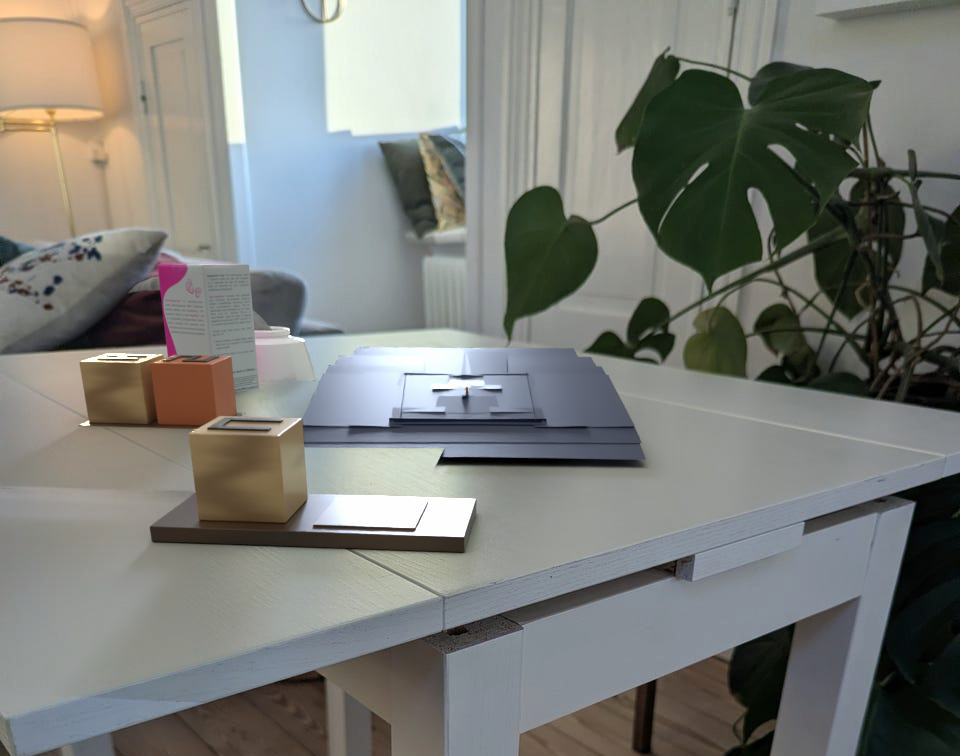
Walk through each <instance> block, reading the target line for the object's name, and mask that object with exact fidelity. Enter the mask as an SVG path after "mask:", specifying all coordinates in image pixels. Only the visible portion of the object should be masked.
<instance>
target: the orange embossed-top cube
mask: <svg viewBox="0 0 960 756" xmlns="http://www.w3.org/2000/svg"><path fill="white" fill-rule="evenodd" d="M150 364H151V372H152V380H153V388H154V395H155V403H156V411H157V418H158V424H159V425H196V426H203V425H205V424H207V423H208V422H210V421H212V420H214V419H215V418H217V417H219V416H235V415H237V413H238V411H237V400H236V392H235V389H234V378H233V368H232V357H231V356H203V355H173V356H170V357H168V356H166V357H164V359H161V360H158V361H155V362H152V363H150Z"/></svg>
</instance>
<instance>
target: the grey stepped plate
mask: <svg viewBox="0 0 960 756" xmlns="http://www.w3.org/2000/svg"><path fill="white" fill-rule="evenodd" d="M302 422H303V436H304V448H316V449H317V448H326V449H327V448H331V449H332V448H333V449H334V448H335V449H336V448H337V449H339V448H341V449H342V448H344V449H347V448H348V449H352V448H353V449H354V448H355V449H360V448H361V449H443V450H442V452H441V454H440V456H439V458H516V459H517V458H519V459H521V458H522V459H523V458H525V459H526V458H527V459H574V460H575V459H576V460H578V459H579V460H582V459H583V460H633V461H635V460H637V461H645V460H647V458H646V455H645V453H644V451H643V448H642V445H641V444H642V440H641V438H640V436H639V434H638V431H637V429H636V425H635V423H634V422H633V420H632V418H631V415H630V414H629V412H628V410H627V408H626V406H625V404H624V402H623V400H622V399H621V396H620V395H619V393H618V391H617V389H616V387H615V385H614V383H613V381H612V380H611V378H610V376H609V374H607V373H606V372H605V370H604V368H603V366H602V365H599V366H597V364H596V363H595V361H594V359H593V358H592V357H591V356H578V354H577V352H576V350H575V348H574V347H414V346H413V347H407V346H405V347H404V346H403V347H400V346H399V347H397V346H387V347H386V346H355V348H354V350H353V353H352V355H338V357H337V358H336V361H335V363H334V364H329V365H328V366H327V368H326V369H325V372H324V373H322V376H321V378H320V379H319V382H318V384H317V386H316V388H315V390H314V393H313V395H312V397H311V399H310V401H309V404H308V406H307V408H306V410H305V413H304V415H303V417H302Z"/></svg>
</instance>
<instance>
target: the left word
mask: <svg viewBox="0 0 960 756" xmlns="http://www.w3.org/2000/svg"><path fill="white" fill-rule="evenodd" d="M164 358H165V357H164V354H155V353H154V354H153V353H152V354H149V353H148V354H147V353H104V354H101V355H97V356H94V357H91V358H87V359H82V360H80V361H79V363H78V364H79V369H80V373H81V374H80V375H81V382H82V388H83V394H84V401H85V406H86V412H87V419H88V420H87V421H85V422H83V423H80V424H78V427H105V428H106V427H109V428H110V427H111V428H112V427H113V428H119V427H120V428H147V429H148V428H149V429H183V430H184V429H185V430H189V429H190V430H196V429H198V428H200V427H201V426H196V425H159V424H158V418H157V411H156V403H155V395H154V388H153V380H152V372H151V364H150V363H152V362H155V361H158V360H161V359H164ZM244 415H246V412H237V415H235V416H239V417H243V416H244Z"/></svg>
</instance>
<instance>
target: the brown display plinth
mask: <svg viewBox="0 0 960 756" xmlns="http://www.w3.org/2000/svg"><path fill="white" fill-rule="evenodd" d="M302 419H303V417H277V416H276V417H271V416H240V417H239V416H219V417H217V418H215V419H214V420H212V421H210V422H208V423H207V424H205V425H203V426H201V427H200V428H198V429H193V430H192V431H191V432H189V433H188V440H189V451H190V457H191V467H192V474H193V483H194V484H193V485H194V493H193V494H191V495H190V496H189V497H188V498H186V499H185V500H183V501H182V502H180V503H179V504H178V505H176V506H175V507H174V508H173V509H171V510H170V511H168V512H167V513H166V514H165V515H163V516H162V517H160V518H159V519H157V521H155V522H153V523H152V524H151V525H149V533H150V540H151V542H166V543H190V544H191V543H192V544H217V545H218V544H219V545H220V544H221V545H246V544H248V545H247V546H249V545H250V546H251V545H252V546H274V547H275V546H276V547H278V546H280V547H304V548H305V547H307V548H309V547H310V548H335V549H337V548H338V549H360V550H361V549H362V550H363V549H364V550H388V551H389V550H393V551H415V552H416V551H417V552H418V551H421V552H444V553H445V552H447V553H448V552H449V553H465V551H466V548H467V544H468V540H469V537H470V534H471V531H472V528H473V526H474V525H473V524H474V521H475V518H476V515H477V502H478V501H477V499H476V498H457V497H456V498H455V497H426V496H398V495H397V496H396V495H394V496H392V495H391V496H390V495H365V494H364V495H363V494H362V495H361V494H360V495H359V494H332V493H331V494H329V493H328V494H327V493H308V481H307V467H306V466H307V465H306V451H305V447H304V436H303V422H302Z"/></svg>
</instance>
